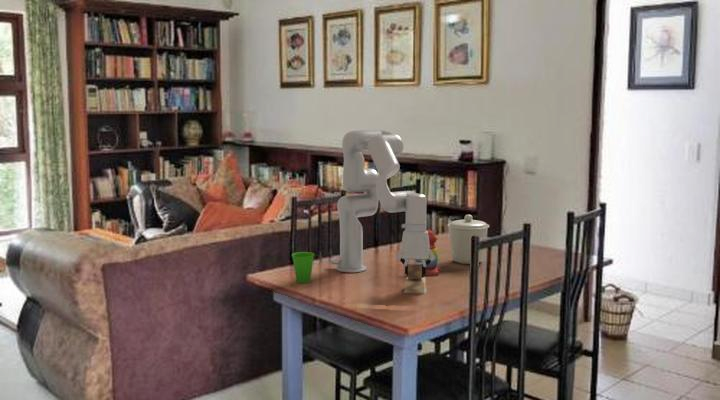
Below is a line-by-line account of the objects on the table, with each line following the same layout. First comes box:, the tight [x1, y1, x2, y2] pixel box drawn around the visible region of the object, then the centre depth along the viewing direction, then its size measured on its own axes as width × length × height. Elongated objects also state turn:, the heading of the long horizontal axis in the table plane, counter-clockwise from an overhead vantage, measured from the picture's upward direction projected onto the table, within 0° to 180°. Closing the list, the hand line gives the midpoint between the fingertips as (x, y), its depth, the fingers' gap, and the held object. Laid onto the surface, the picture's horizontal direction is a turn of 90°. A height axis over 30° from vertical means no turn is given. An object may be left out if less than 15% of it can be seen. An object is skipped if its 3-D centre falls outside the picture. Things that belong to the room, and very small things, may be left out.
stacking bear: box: [415, 228, 441, 277], centre depth 291 cm, size 11×10×18 cm
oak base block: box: [404, 276, 427, 294], centre depth 260 cm, size 7×7×4 cm
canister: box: [447, 214, 490, 265], centre depth 309 cm, size 18×18×21 cm
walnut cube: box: [408, 261, 423, 279], centre depth 259 cm, size 5×5×5 cm
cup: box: [291, 251, 316, 284], centre depth 277 cm, size 9×9×11 cm
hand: (415, 275), depth 259 cm, fingers closed on walnut cube, 4 cm apart
